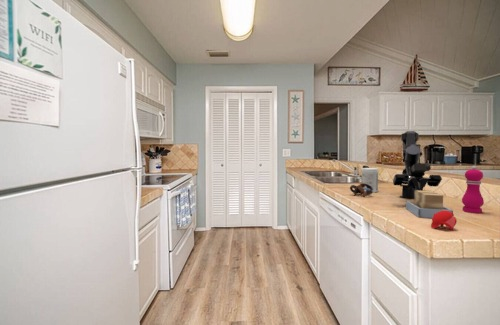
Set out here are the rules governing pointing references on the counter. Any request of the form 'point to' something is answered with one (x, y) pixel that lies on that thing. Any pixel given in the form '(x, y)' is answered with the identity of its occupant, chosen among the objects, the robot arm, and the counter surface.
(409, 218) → the counter surface
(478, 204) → the pepper mill
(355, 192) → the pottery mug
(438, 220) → the cap
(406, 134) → the robot arm
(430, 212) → the box
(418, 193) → the oak block
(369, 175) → the supplement tub
